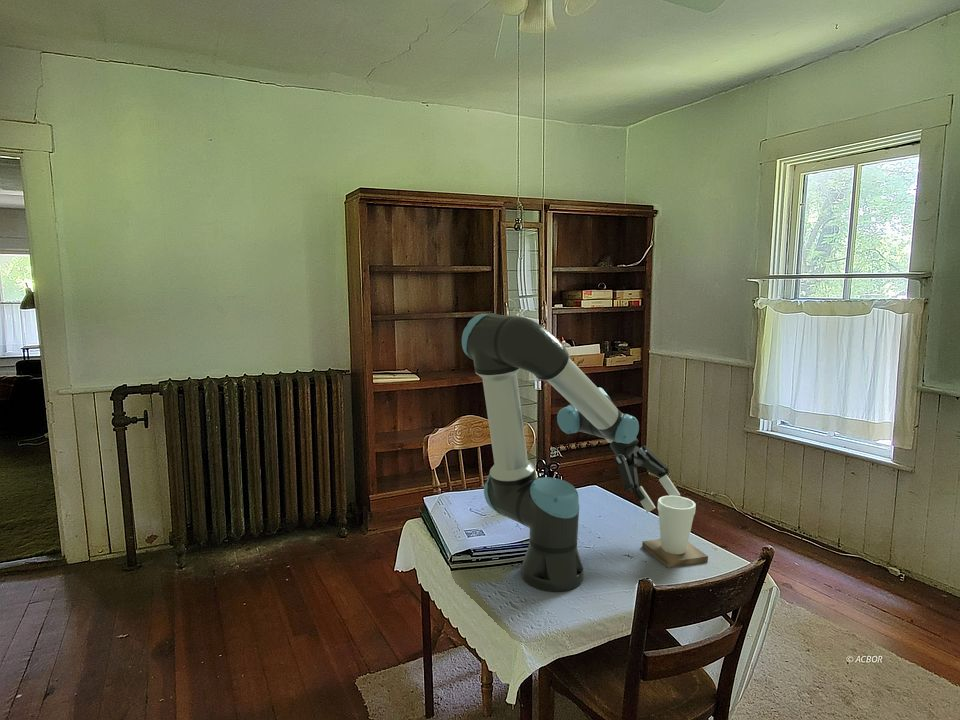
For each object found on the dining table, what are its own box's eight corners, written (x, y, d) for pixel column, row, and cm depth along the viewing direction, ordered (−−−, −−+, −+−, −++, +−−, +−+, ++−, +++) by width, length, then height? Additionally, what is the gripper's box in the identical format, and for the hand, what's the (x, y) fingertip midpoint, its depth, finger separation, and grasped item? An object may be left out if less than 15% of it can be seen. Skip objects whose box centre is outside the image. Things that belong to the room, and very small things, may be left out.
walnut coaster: (667, 567, 153) (667, 562, 153) (642, 546, 164) (642, 541, 164) (707, 561, 156) (708, 556, 156) (680, 541, 168) (680, 536, 167)
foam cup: (697, 557, 155) (700, 509, 153) (660, 556, 155) (663, 509, 153) (685, 541, 164) (688, 495, 162) (651, 540, 165) (654, 495, 163)
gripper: (634, 436, 181) (676, 498, 173) (586, 452, 163) (630, 522, 155) (651, 422, 176) (695, 486, 168) (604, 438, 159) (650, 509, 151)
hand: (664, 503), depth 162 cm, fingers open, 13 cm apart
